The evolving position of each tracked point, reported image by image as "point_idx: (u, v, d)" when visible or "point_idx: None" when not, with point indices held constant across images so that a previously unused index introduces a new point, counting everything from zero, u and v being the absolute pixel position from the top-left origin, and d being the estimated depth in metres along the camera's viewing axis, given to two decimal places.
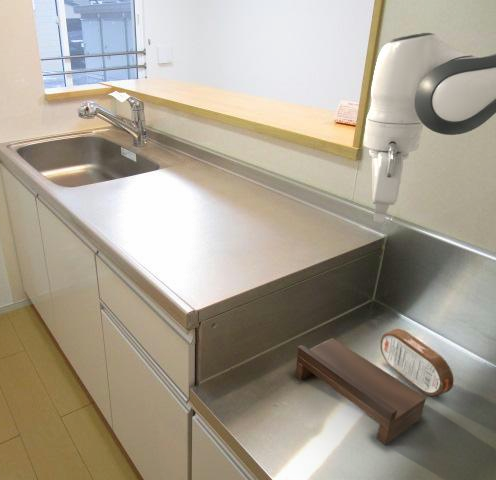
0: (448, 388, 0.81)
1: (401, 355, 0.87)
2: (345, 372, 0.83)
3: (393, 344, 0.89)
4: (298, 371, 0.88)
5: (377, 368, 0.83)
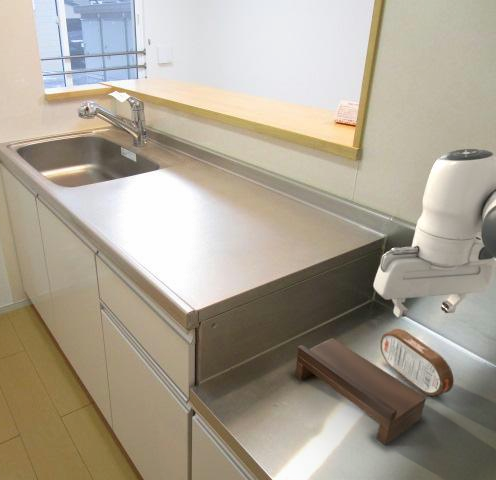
0: (448, 388, 0.81)
1: (401, 355, 0.87)
2: (345, 372, 0.83)
3: (393, 344, 0.89)
4: (298, 371, 0.88)
5: (377, 368, 0.83)
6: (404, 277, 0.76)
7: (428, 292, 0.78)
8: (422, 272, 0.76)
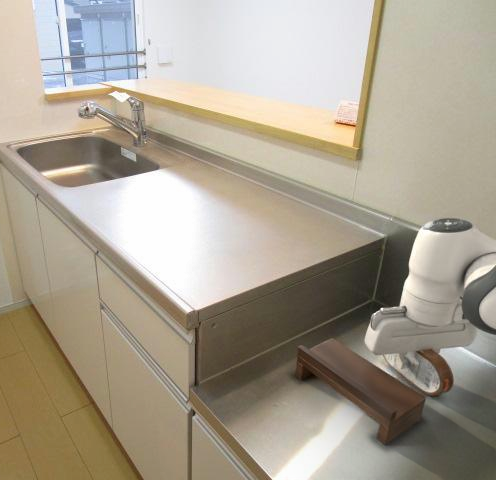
0: (448, 388, 0.81)
1: None
2: (345, 372, 0.83)
3: None
4: (298, 371, 0.88)
5: (377, 368, 0.83)
6: (393, 335, 0.81)
7: (416, 347, 0.83)
8: (410, 330, 0.81)
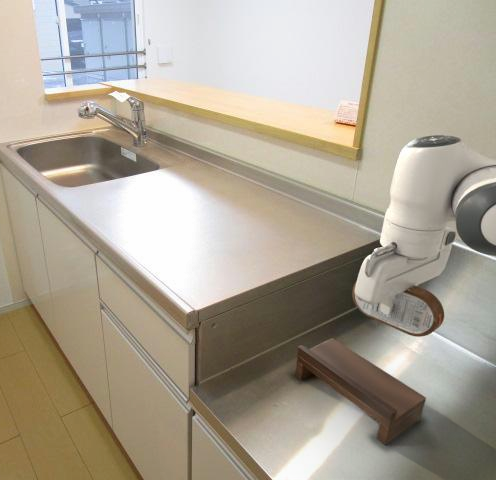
0: (439, 324, 0.74)
1: None
2: (345, 372, 0.83)
3: None
4: (298, 371, 0.88)
5: (377, 368, 0.83)
6: (387, 278, 0.71)
7: (404, 287, 0.74)
8: (401, 269, 0.72)
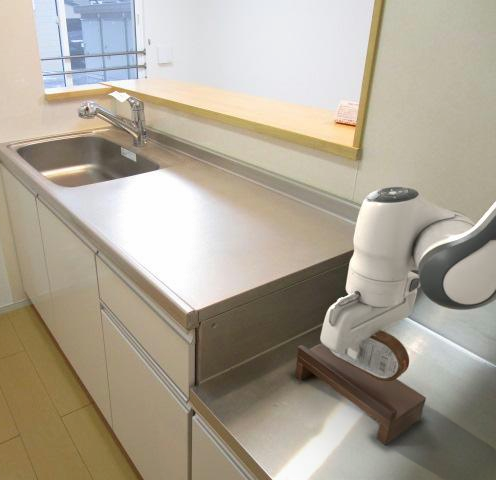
0: (405, 369, 0.75)
1: None
2: (345, 372, 0.83)
3: None
4: (298, 371, 0.88)
5: None
6: (352, 326, 0.72)
7: (370, 333, 0.75)
8: (365, 317, 0.73)
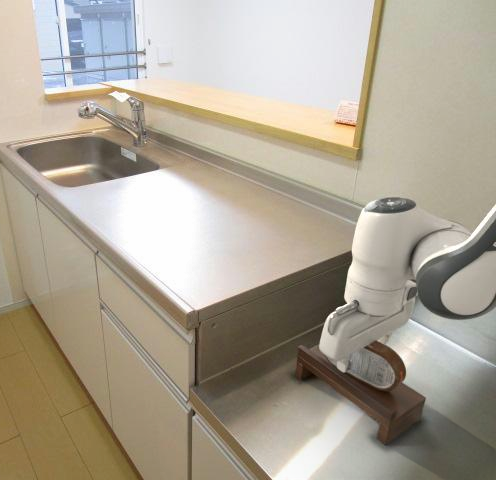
0: (402, 380, 0.76)
1: None
2: None
3: None
4: (298, 371, 0.88)
5: None
6: (350, 335, 0.72)
7: (368, 341, 0.76)
8: (364, 325, 0.74)
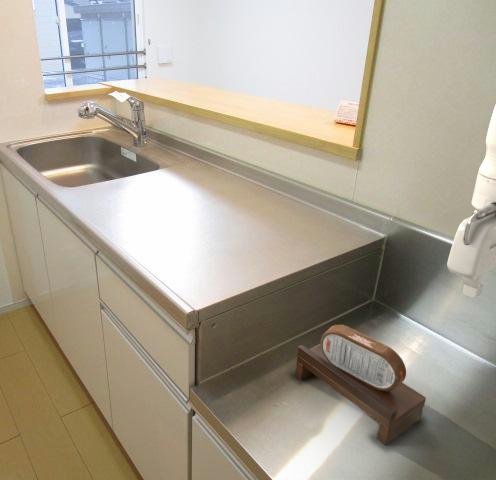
0: (402, 380, 0.76)
1: (347, 353, 0.81)
2: None
3: (336, 342, 0.82)
4: (298, 371, 0.88)
5: None
6: (490, 245, 0.59)
7: None
8: None
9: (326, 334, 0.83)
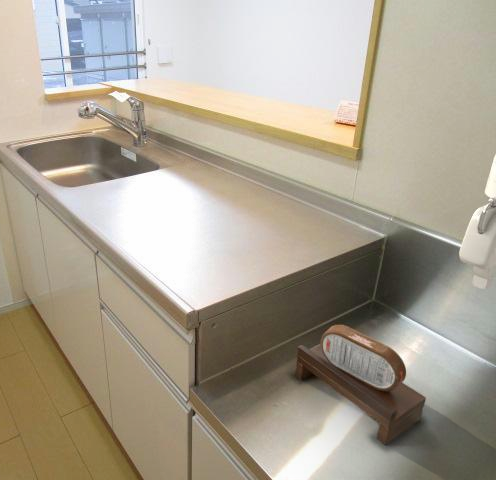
0: (402, 380, 0.76)
1: (347, 353, 0.81)
2: None
3: (336, 342, 0.82)
4: (298, 371, 0.88)
5: None
6: None
7: None
8: None
9: (326, 334, 0.83)
